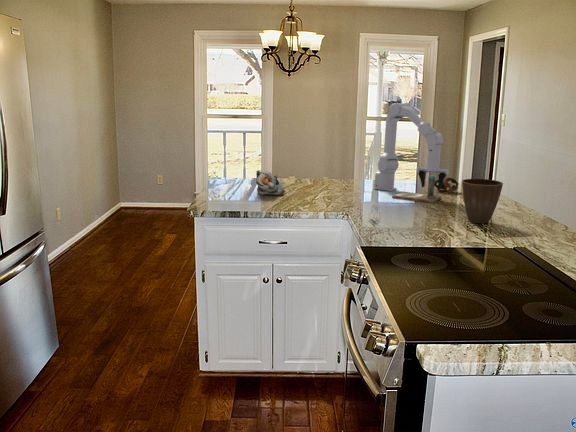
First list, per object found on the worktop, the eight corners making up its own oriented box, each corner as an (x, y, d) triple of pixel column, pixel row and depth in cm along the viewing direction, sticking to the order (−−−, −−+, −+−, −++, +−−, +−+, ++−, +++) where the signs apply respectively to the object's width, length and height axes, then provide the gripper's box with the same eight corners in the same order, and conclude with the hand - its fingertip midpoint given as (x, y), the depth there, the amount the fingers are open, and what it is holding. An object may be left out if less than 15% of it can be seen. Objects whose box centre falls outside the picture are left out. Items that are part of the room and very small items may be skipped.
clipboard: (392, 198, 255) (392, 195, 254) (402, 193, 266) (402, 190, 266) (432, 203, 245) (432, 200, 245) (440, 198, 257) (440, 195, 257)
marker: (426, 195, 255) (427, 176, 253) (428, 194, 258) (429, 175, 256) (432, 196, 254) (434, 176, 252) (434, 195, 256) (436, 176, 254)
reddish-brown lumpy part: (450, 190, 281) (458, 178, 275) (453, 201, 273) (461, 189, 268) (429, 184, 279) (436, 172, 274) (432, 195, 272) (439, 183, 267)
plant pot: (472, 227, 203) (477, 185, 199) (450, 218, 217) (454, 179, 213) (506, 225, 207) (511, 184, 203) (483, 216, 221) (487, 178, 217)
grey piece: (290, 194, 256) (285, 171, 247) (269, 206, 252) (263, 183, 243) (273, 181, 267) (268, 158, 258) (252, 192, 263) (246, 169, 254)
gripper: (415, 158, 252) (413, 187, 255) (446, 161, 245) (444, 190, 248) (420, 157, 258) (418, 185, 261) (450, 159, 251) (448, 188, 254)
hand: (431, 187), depth 255 cm, fingers open, 7 cm apart
